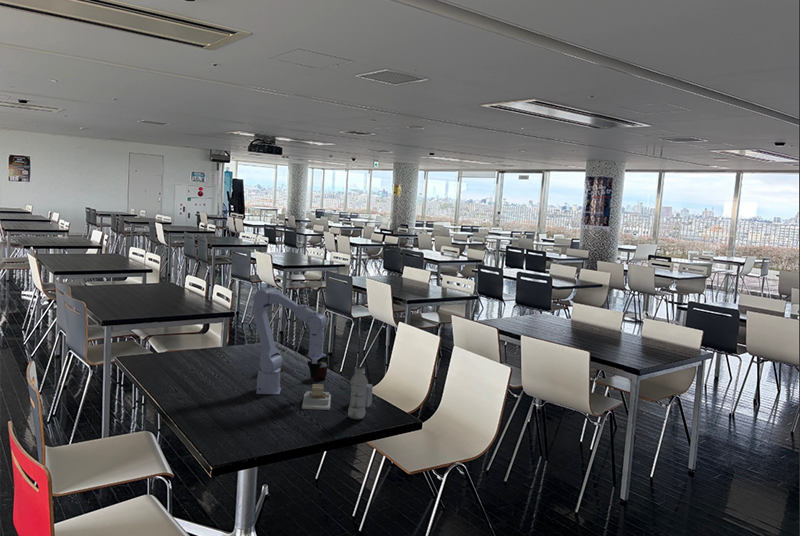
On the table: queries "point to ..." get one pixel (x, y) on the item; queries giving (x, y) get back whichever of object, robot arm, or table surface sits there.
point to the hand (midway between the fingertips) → (314, 375)
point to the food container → (283, 353)
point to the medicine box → (368, 395)
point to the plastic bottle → (358, 394)
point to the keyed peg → (318, 391)
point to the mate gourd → (322, 371)
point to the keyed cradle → (316, 401)
